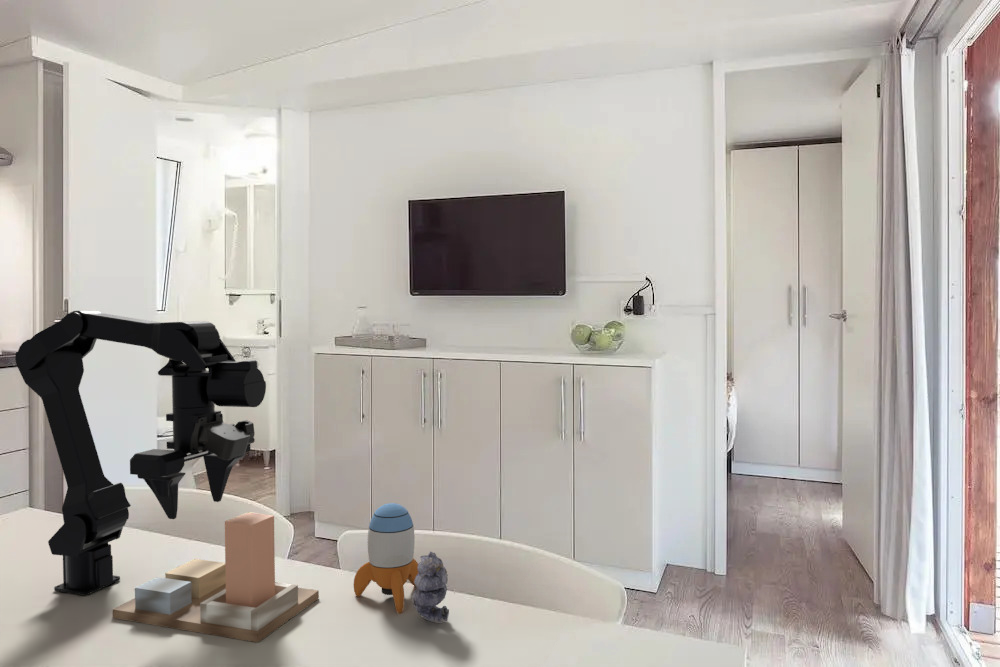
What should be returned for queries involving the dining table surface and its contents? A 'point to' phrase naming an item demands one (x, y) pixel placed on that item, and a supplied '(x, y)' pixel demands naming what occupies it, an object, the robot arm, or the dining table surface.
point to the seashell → (431, 589)
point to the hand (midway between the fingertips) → (195, 509)
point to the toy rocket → (389, 553)
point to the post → (249, 559)
